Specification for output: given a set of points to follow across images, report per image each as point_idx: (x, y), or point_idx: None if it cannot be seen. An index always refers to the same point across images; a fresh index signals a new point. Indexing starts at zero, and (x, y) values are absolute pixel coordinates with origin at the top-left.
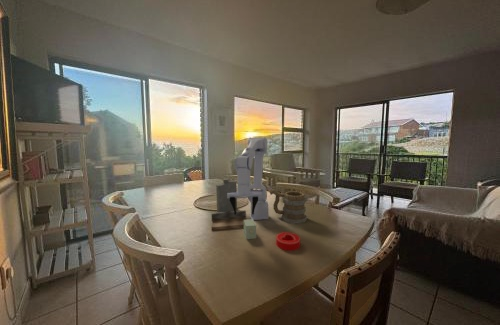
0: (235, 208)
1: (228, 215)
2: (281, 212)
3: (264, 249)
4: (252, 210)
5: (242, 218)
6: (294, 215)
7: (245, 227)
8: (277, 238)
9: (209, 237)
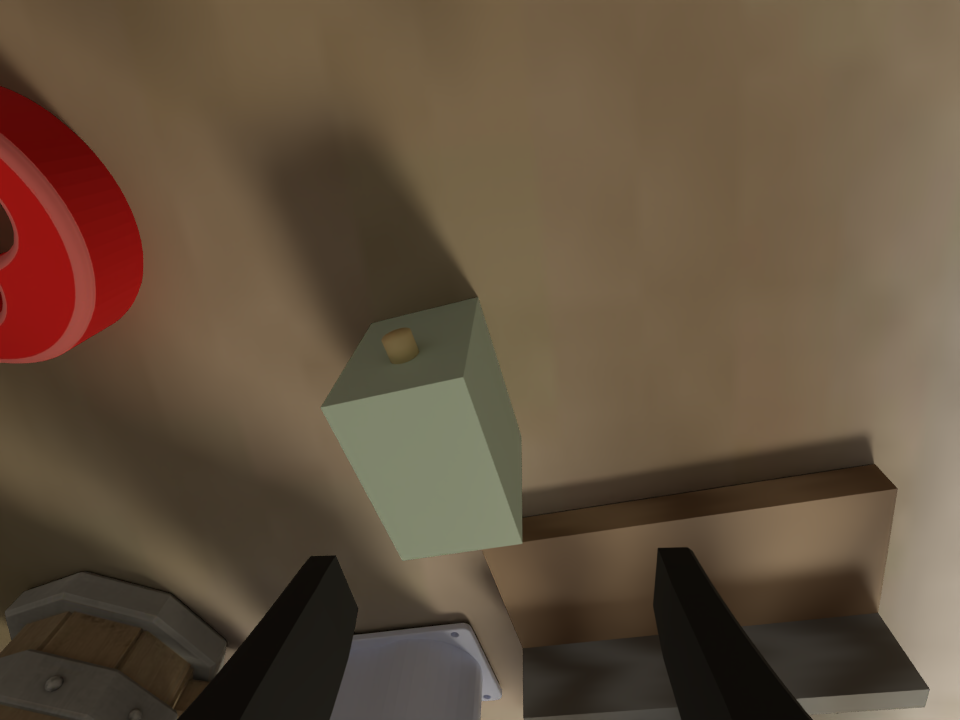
0: (719, 687)
1: None
2: None
3: (222, 69)
4: (287, 628)
5: (554, 637)
6: (56, 649)
7: (480, 394)
8: (45, 205)
9: (919, 316)
